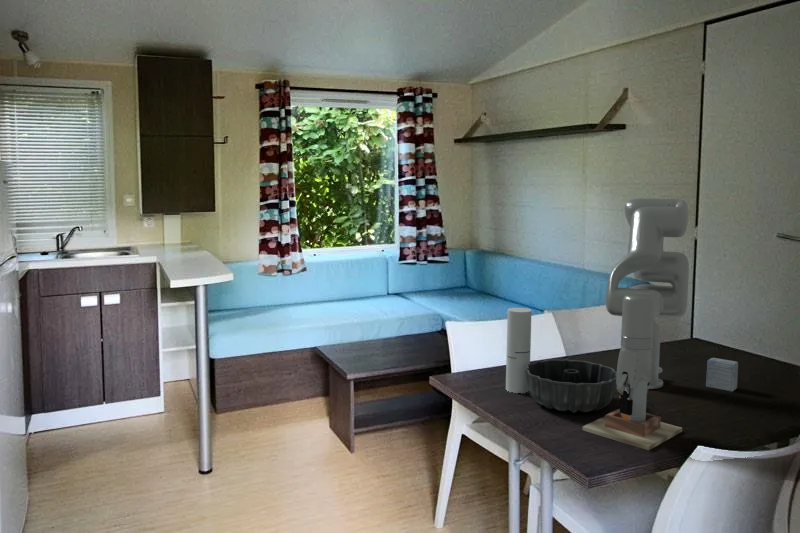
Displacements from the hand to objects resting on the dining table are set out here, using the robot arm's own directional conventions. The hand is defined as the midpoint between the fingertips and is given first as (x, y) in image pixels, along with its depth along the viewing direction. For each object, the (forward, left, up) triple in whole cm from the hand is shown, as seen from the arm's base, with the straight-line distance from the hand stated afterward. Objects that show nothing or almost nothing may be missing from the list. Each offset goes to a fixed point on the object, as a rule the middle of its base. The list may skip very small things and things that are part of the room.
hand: (633, 409), depth 175 cm
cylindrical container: (-6, -41, -6) cm, 42 cm away
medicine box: (-54, +1, -6) cm, 54 cm away
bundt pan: (-7, -23, -6) cm, 25 cm away
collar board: (0, 0, -6) cm, 6 cm away
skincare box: (0, 0, -3) cm, 3 cm away
